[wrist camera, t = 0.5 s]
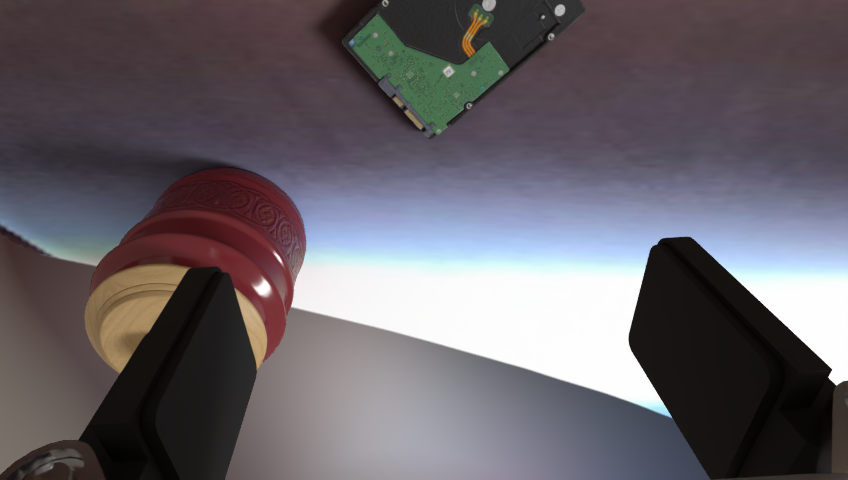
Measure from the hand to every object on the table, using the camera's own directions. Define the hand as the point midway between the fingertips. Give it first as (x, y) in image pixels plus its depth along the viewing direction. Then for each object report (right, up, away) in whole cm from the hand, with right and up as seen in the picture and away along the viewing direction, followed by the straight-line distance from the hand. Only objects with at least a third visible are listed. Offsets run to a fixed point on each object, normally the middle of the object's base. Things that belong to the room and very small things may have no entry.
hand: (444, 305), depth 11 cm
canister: (-18, +3, +33) cm, 38 cm away
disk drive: (+2, +18, +26) cm, 32 cm away
